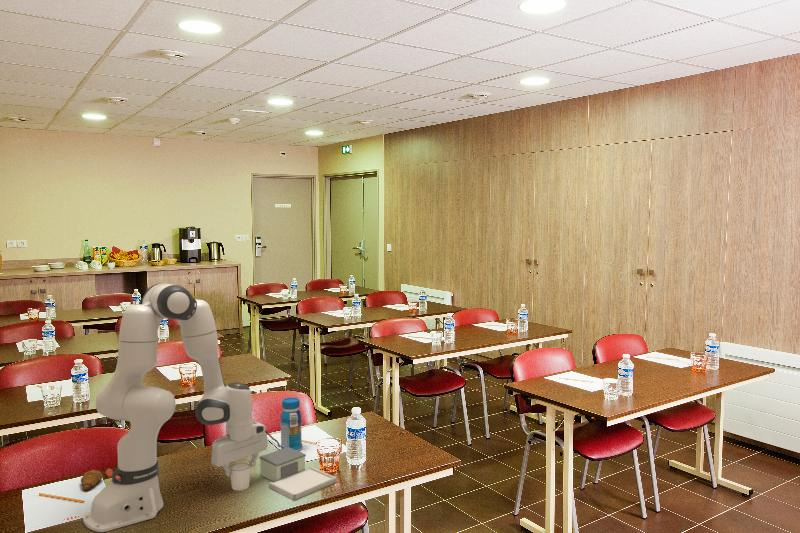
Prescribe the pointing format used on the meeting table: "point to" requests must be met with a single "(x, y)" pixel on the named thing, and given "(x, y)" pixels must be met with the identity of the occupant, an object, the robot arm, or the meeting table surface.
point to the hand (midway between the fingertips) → (240, 470)
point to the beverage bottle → (291, 424)
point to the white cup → (240, 476)
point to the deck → (292, 474)
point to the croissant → (90, 479)
